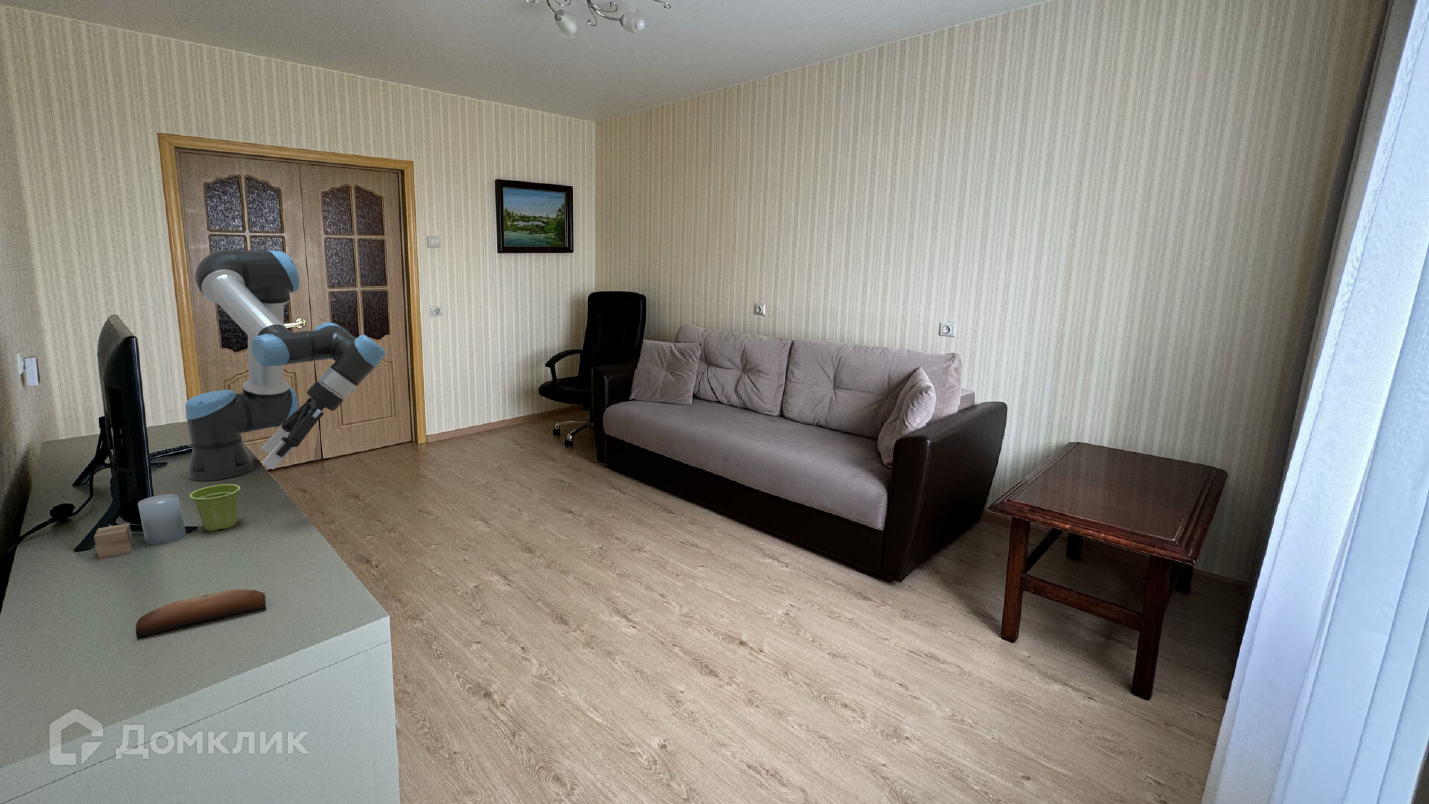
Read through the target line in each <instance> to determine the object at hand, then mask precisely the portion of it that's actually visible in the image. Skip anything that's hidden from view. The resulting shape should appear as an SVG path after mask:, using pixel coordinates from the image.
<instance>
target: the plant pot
mask: <svg viewBox="0 0 1429 804" xmlns="http://www.w3.org/2000/svg"><path fill="white" fill-rule="evenodd" d="M240 491H241V486H240V485H238V484H232V483H227V484H226V483H225V484H216V485H210V486H206V487H202V488H199V489H197V490H195V491H192V492H190V494H189V498H190V499H191V500H192V502H193V503H194V504H195V506H196V508H197V511H198V513H199V517H200V520H201V524H202V525H203V528H204V530H205V531H209V532H210V531H211V532H212V531H214V532H215V531H218V530H220V529H223V530H225V529H230V528H232V527H235V525H237V521H238V520H237V519H238V518H237V517H238V512H237V511H238V510H237V509H238V496H239V492H240Z"/></svg>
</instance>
